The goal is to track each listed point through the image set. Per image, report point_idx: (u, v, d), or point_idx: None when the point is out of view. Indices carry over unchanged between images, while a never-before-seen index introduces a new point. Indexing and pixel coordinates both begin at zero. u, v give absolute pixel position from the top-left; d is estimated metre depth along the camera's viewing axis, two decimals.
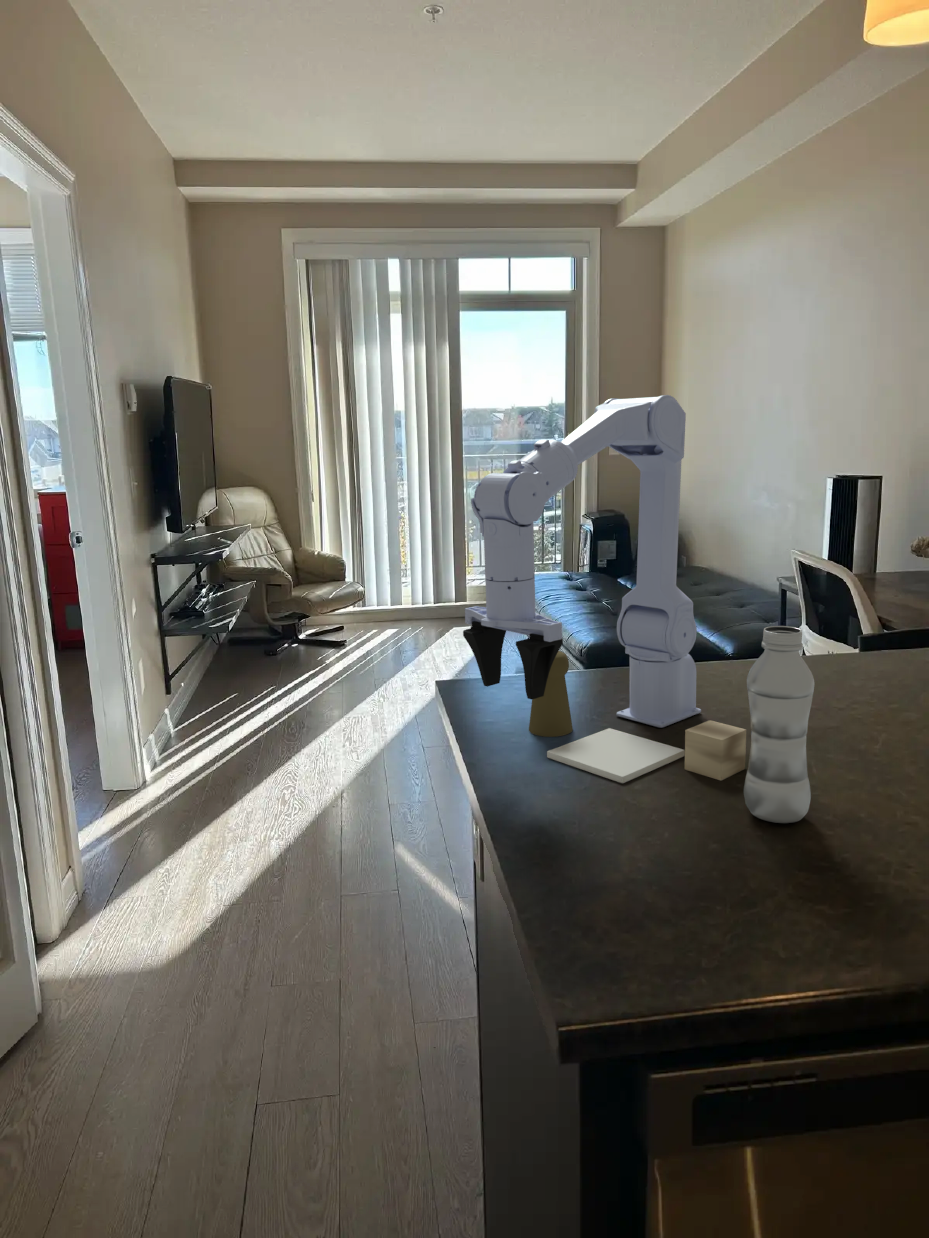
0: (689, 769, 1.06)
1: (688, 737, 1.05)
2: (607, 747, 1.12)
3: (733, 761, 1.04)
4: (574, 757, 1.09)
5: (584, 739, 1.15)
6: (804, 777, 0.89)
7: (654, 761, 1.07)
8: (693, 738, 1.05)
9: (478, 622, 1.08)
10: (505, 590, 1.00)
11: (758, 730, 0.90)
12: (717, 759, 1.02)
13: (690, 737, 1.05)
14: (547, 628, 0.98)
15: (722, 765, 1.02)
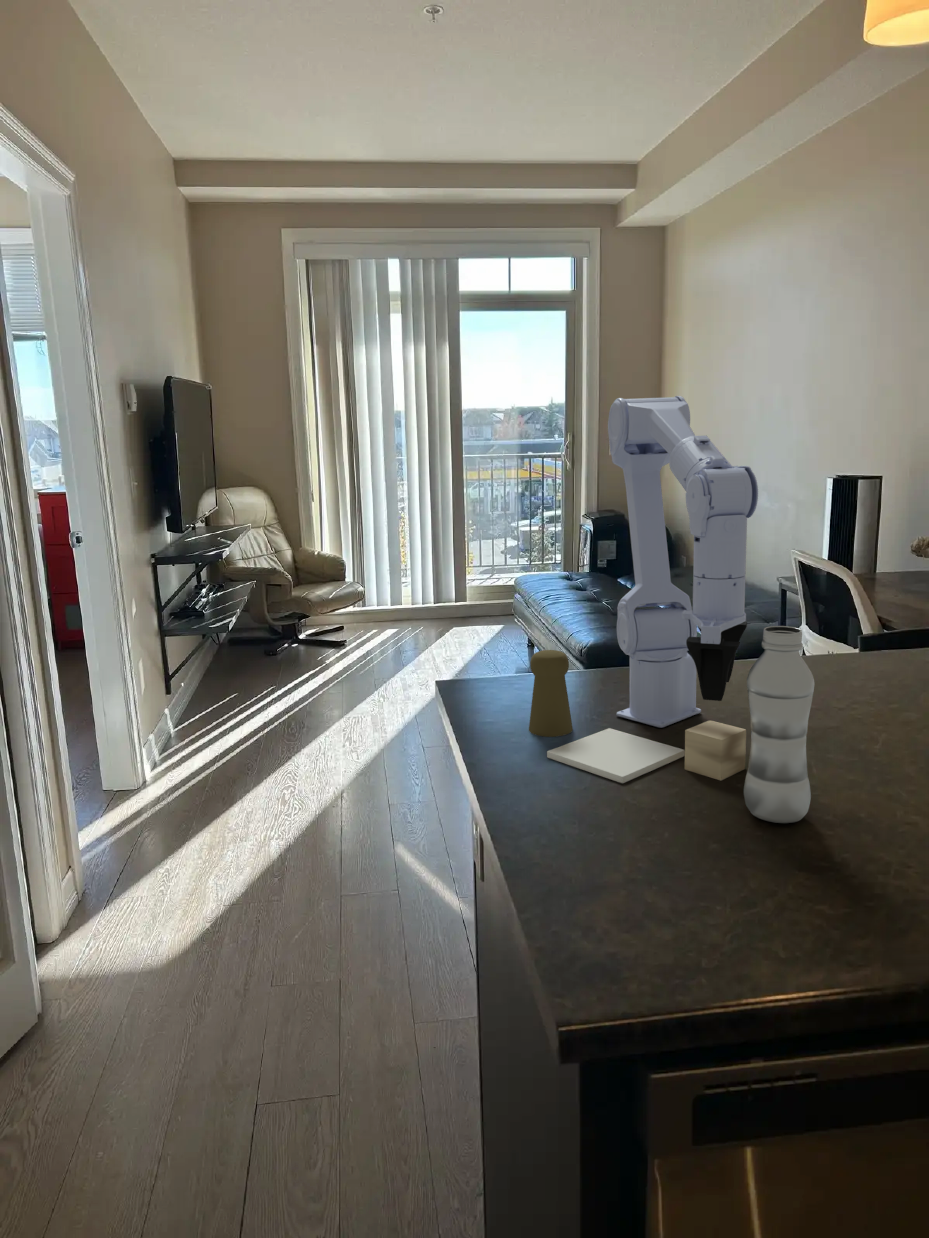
0: (689, 769, 1.06)
1: (688, 737, 1.05)
2: (607, 747, 1.12)
3: (733, 761, 1.04)
4: (574, 757, 1.09)
5: (584, 739, 1.15)
6: (804, 777, 0.89)
7: (654, 761, 1.07)
8: (693, 738, 1.05)
9: None
10: (696, 585, 1.01)
11: (758, 730, 0.90)
12: (717, 759, 1.02)
13: (690, 737, 1.05)
14: (701, 629, 0.96)
15: (722, 765, 1.02)
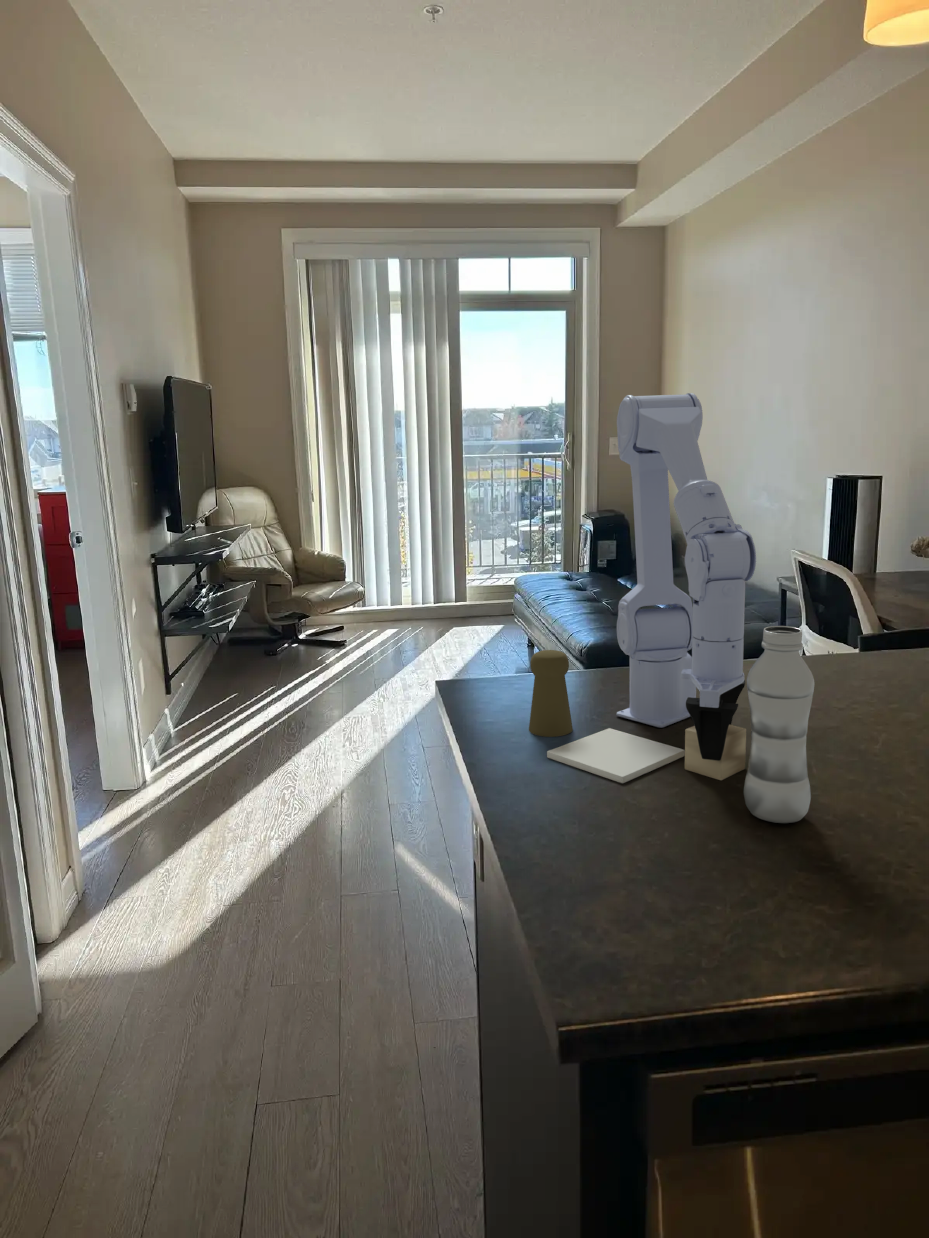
0: (689, 768, 1.06)
1: (688, 736, 1.05)
2: (607, 747, 1.12)
3: (733, 760, 1.04)
4: (574, 757, 1.09)
5: (584, 739, 1.15)
6: (804, 777, 0.89)
7: (654, 761, 1.07)
8: (693, 737, 1.04)
9: None
10: (695, 646, 1.02)
11: (758, 730, 0.90)
12: None
13: (690, 736, 1.05)
14: (700, 692, 0.98)
15: (722, 764, 1.02)
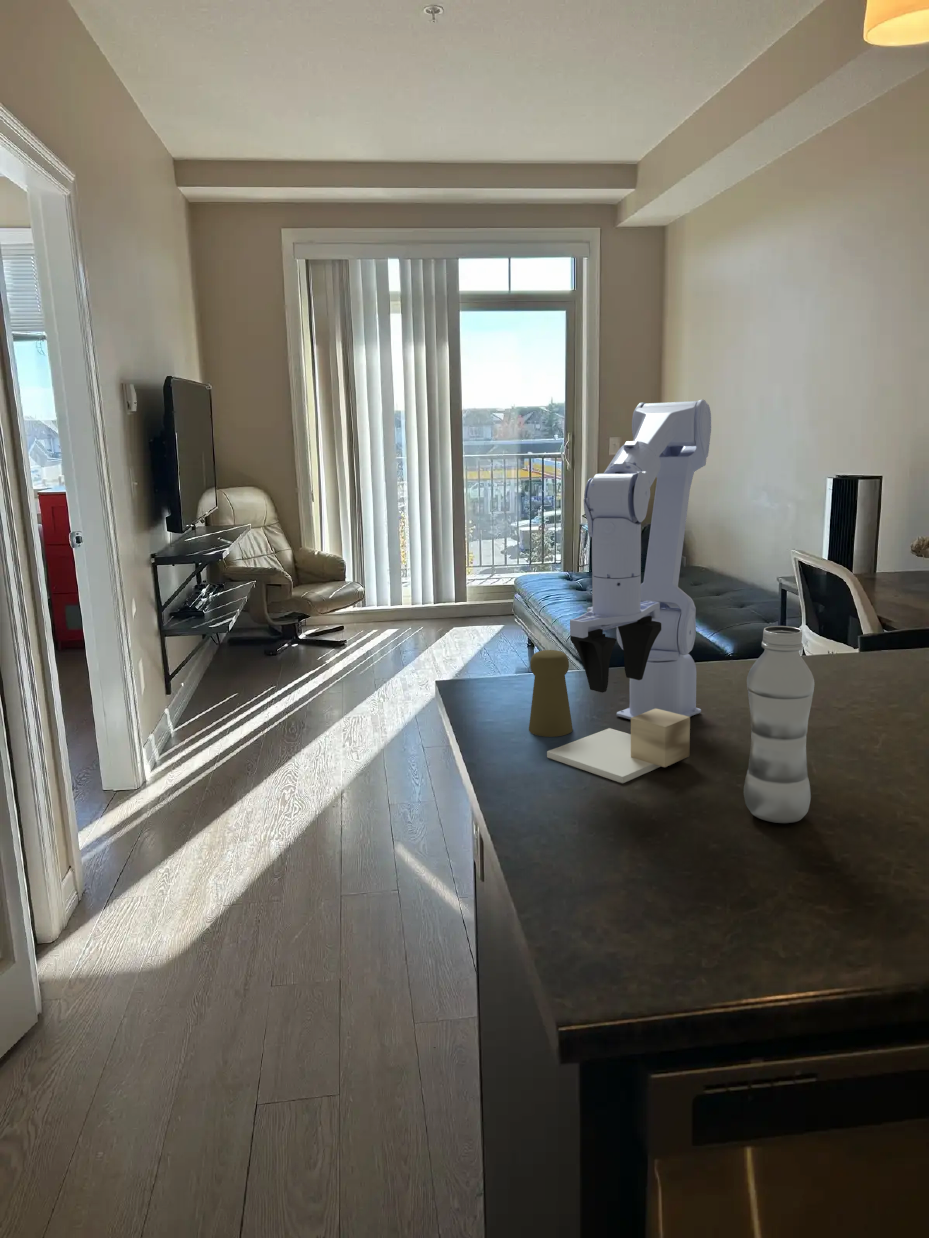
0: (635, 756, 1.08)
1: (633, 725, 1.07)
2: (607, 747, 1.12)
3: (677, 748, 1.06)
4: (574, 757, 1.09)
5: (584, 739, 1.15)
6: (804, 777, 0.89)
7: None
8: (638, 726, 1.07)
9: None
10: (592, 582, 1.07)
11: (758, 730, 0.90)
12: (661, 746, 1.05)
13: (635, 725, 1.07)
14: None
15: (665, 752, 1.05)
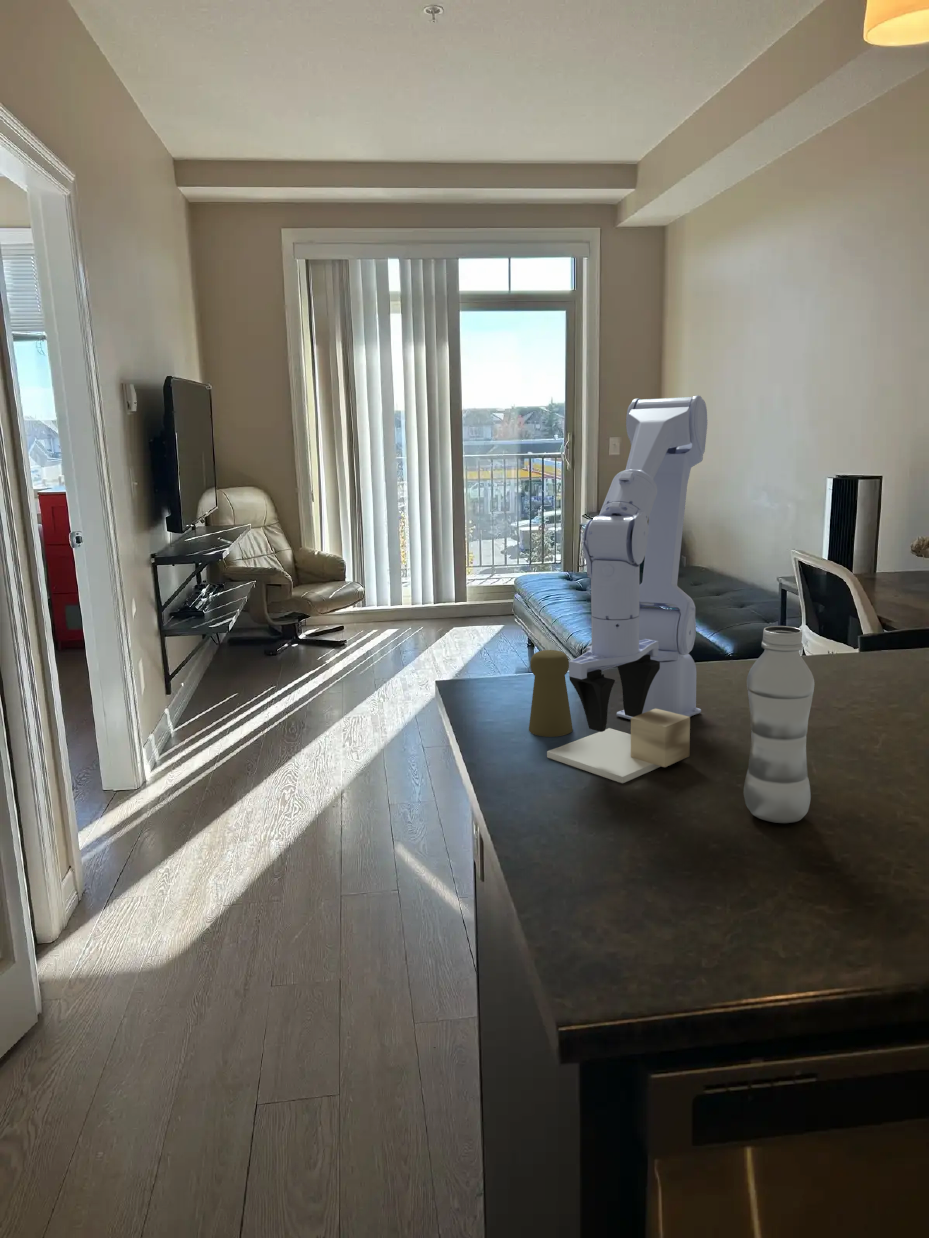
0: (635, 756, 1.08)
1: (633, 725, 1.07)
2: (607, 747, 1.12)
3: (677, 748, 1.06)
4: (574, 757, 1.09)
5: (584, 739, 1.15)
6: (804, 777, 0.89)
7: None
8: (638, 726, 1.07)
9: None
10: (591, 622, 1.08)
11: (758, 730, 0.90)
12: (661, 746, 1.05)
13: (635, 725, 1.07)
14: None
15: (665, 752, 1.05)
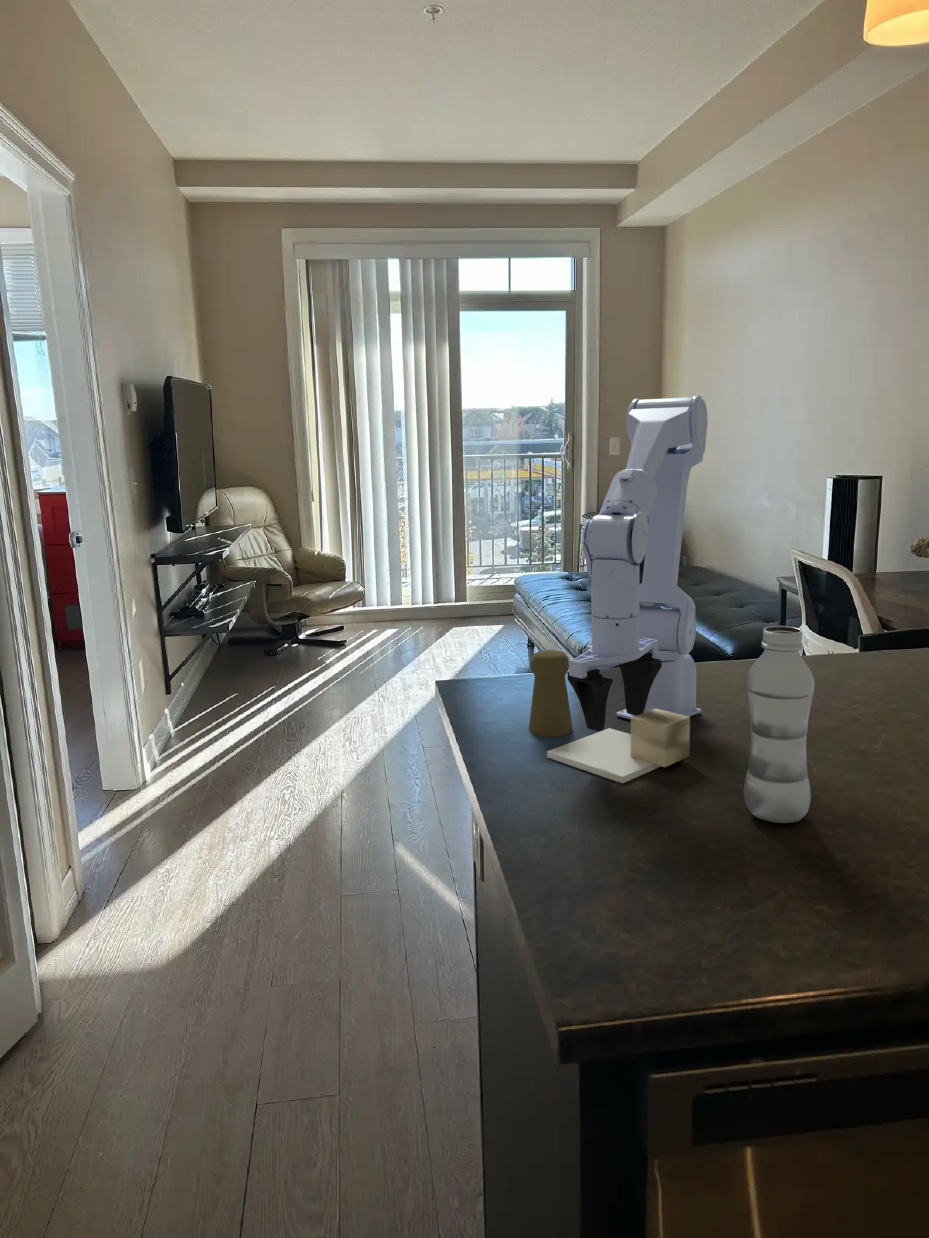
0: (635, 756, 1.08)
1: (633, 725, 1.07)
2: (607, 747, 1.12)
3: (677, 748, 1.06)
4: (574, 757, 1.09)
5: (584, 739, 1.15)
6: (804, 777, 0.89)
7: None
8: (638, 726, 1.07)
9: None
10: (591, 621, 1.08)
11: (758, 730, 0.90)
12: (661, 746, 1.05)
13: (635, 725, 1.07)
14: None
15: (665, 752, 1.05)
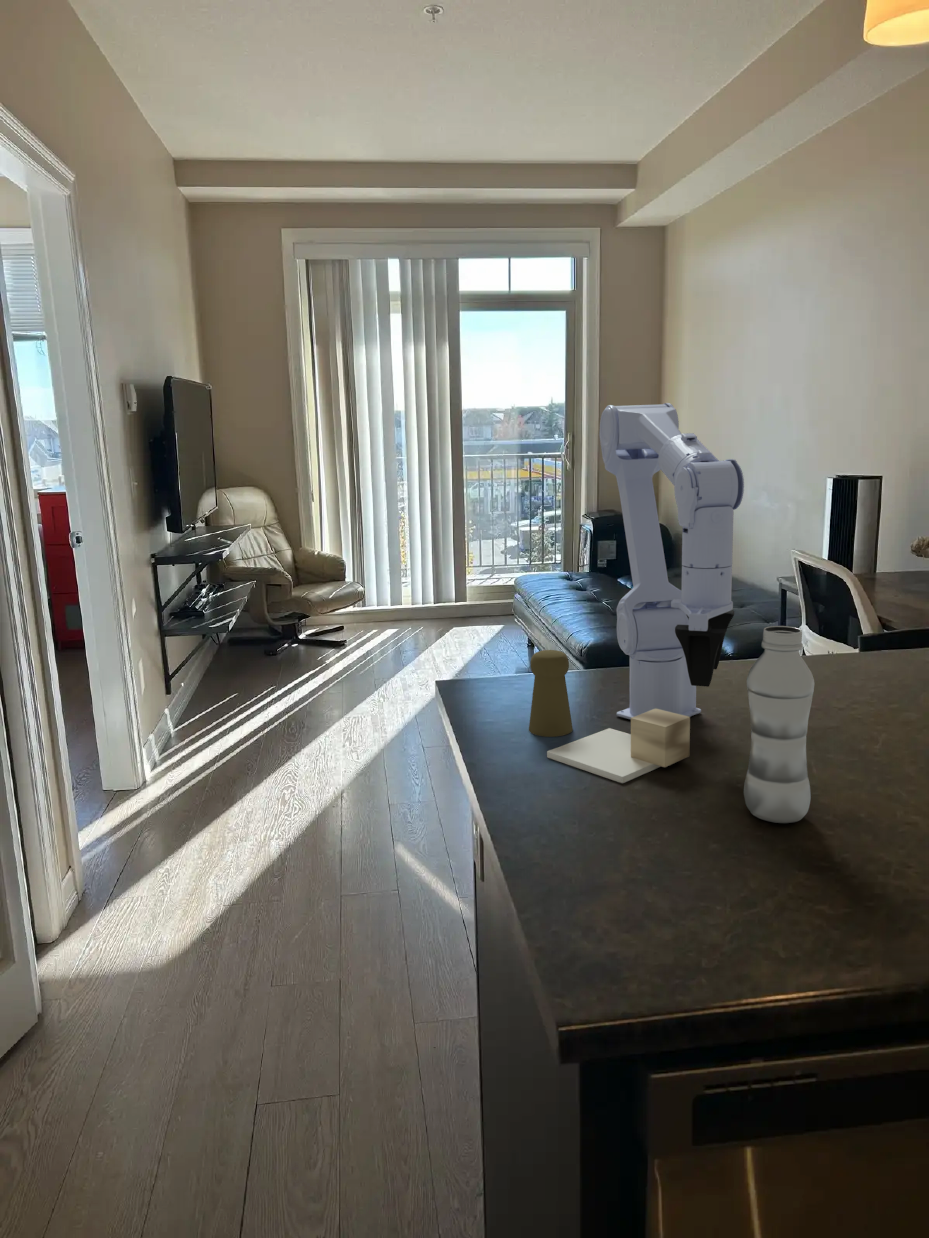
0: (635, 756, 1.08)
1: (633, 725, 1.07)
2: (607, 747, 1.12)
3: (677, 748, 1.06)
4: (574, 757, 1.09)
5: (584, 739, 1.15)
6: (804, 777, 0.89)
7: None
8: (638, 726, 1.07)
9: None
10: (684, 575, 1.04)
11: (758, 730, 0.90)
12: (661, 746, 1.05)
13: (635, 725, 1.07)
14: (689, 616, 1.00)
15: (665, 752, 1.05)
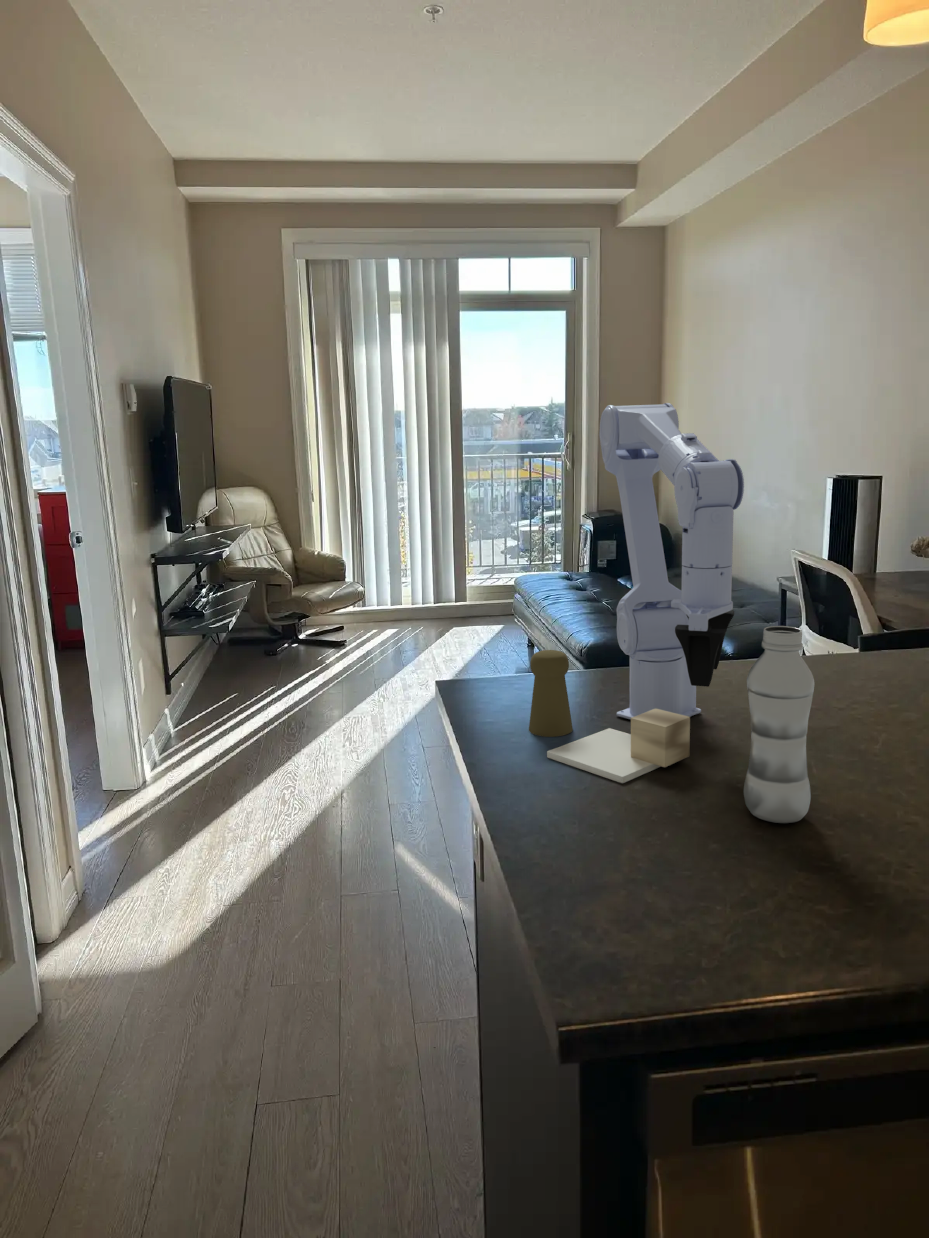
0: (635, 756, 1.08)
1: (633, 725, 1.07)
2: (607, 747, 1.12)
3: (677, 748, 1.06)
4: (574, 757, 1.09)
5: (584, 739, 1.15)
6: (804, 777, 0.89)
7: None
8: (638, 726, 1.07)
9: None
10: (684, 575, 1.04)
11: (758, 730, 0.90)
12: (661, 746, 1.05)
13: (635, 725, 1.07)
14: (689, 616, 1.00)
15: (665, 752, 1.05)
